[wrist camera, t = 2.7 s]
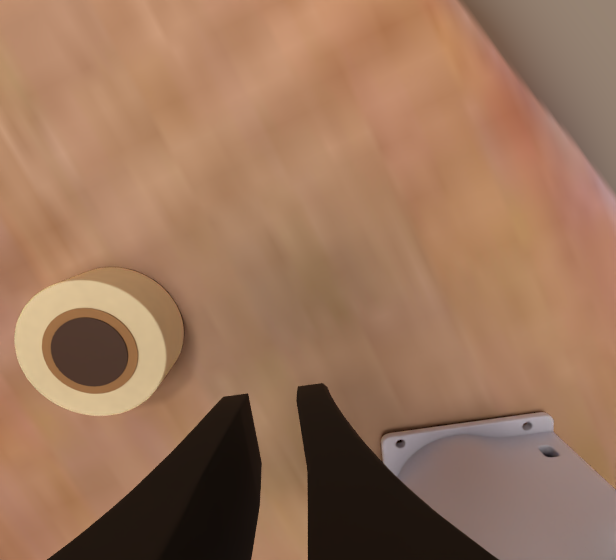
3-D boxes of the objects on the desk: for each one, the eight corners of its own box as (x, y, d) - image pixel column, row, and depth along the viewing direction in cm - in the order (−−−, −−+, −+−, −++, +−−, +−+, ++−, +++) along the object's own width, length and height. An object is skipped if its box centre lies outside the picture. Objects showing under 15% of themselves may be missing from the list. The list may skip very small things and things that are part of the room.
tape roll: (168, 258, 17) (145, 270, 14) (196, 377, 19) (179, 408, 16) (36, 276, 17) (-12, 292, 14) (75, 393, 19) (38, 427, 16)
